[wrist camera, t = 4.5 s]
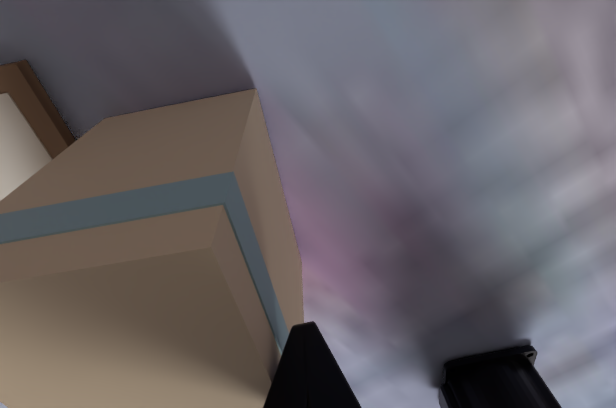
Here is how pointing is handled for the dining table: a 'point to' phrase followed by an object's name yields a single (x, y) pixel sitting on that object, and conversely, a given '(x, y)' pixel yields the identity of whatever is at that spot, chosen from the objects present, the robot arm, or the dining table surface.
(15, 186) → the picture frame
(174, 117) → the carton
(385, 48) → the dining table surface
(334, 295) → the dining table surface
